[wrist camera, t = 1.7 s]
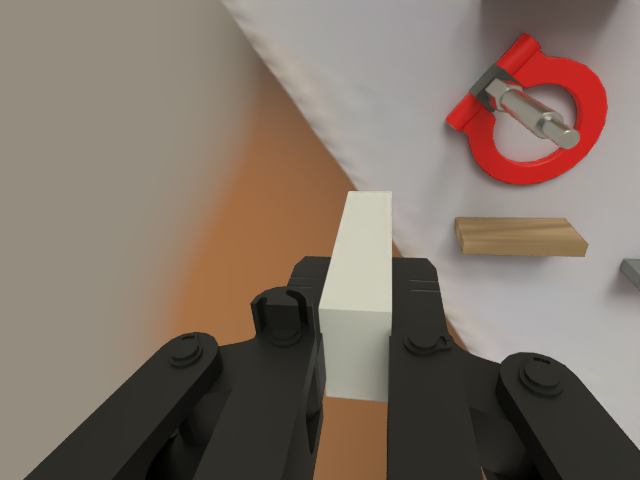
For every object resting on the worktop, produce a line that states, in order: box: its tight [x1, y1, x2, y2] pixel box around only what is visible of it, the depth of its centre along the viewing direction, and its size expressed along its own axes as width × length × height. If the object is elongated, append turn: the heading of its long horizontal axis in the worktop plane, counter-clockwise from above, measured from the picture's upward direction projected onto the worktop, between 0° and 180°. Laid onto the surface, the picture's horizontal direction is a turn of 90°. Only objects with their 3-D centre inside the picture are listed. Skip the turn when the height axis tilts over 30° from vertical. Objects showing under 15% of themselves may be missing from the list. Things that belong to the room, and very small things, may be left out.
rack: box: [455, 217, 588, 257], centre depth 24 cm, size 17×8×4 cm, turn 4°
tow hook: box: [446, 33, 608, 185], centre depth 21 cm, size 8×13×9 cm
